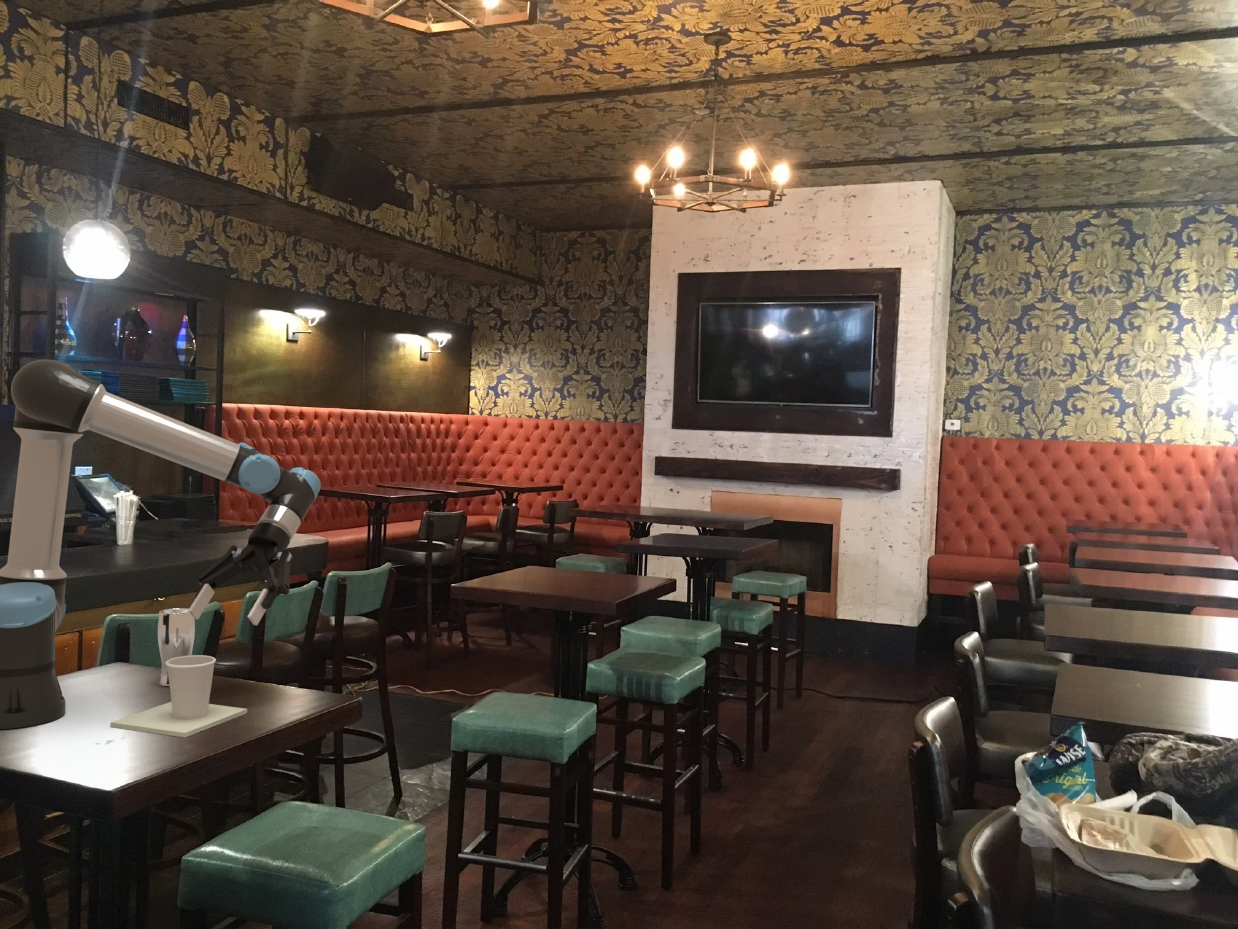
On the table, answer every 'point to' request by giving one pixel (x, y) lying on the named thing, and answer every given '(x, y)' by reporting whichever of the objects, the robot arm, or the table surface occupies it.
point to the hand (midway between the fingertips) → (222, 618)
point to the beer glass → (174, 637)
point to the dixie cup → (190, 685)
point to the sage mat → (176, 720)
